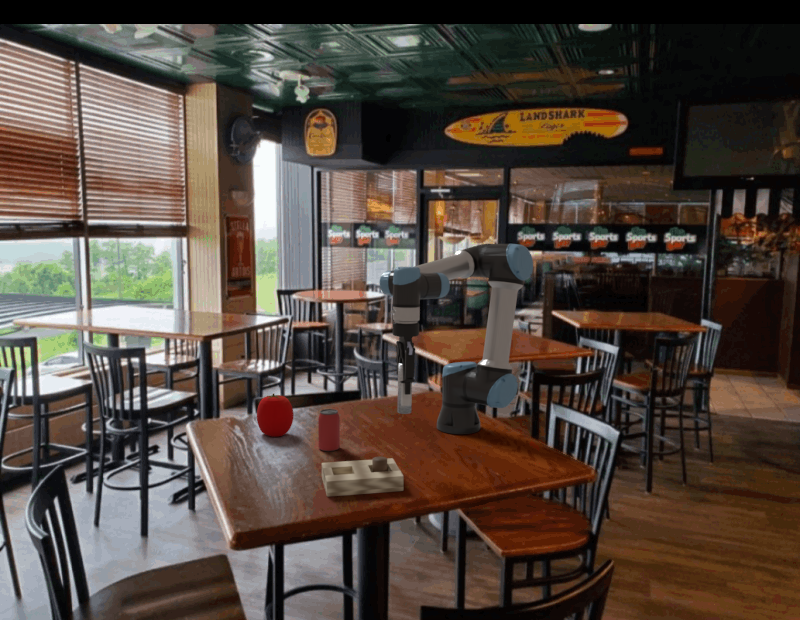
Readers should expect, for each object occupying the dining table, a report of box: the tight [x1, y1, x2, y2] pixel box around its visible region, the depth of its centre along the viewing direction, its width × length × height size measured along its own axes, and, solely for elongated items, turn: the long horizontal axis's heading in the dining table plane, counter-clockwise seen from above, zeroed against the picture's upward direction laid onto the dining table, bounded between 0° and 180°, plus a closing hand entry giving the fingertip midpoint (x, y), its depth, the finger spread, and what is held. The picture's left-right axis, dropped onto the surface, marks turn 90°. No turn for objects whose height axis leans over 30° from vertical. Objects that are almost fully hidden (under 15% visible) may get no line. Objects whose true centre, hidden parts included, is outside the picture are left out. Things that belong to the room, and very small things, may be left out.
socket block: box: [321, 456, 404, 497], centre depth 174 cm, size 20×14×6 cm
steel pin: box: [396, 363, 413, 415], centre depth 184 cm, size 4×4×14 cm
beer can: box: [317, 408, 341, 452], centre depth 202 cm, size 7×7×12 cm
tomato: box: [256, 393, 294, 438], centre depth 215 cm, size 13×11×14 cm
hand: (404, 402), depth 184 cm, fingers closed on steel pin, 4 cm apart
